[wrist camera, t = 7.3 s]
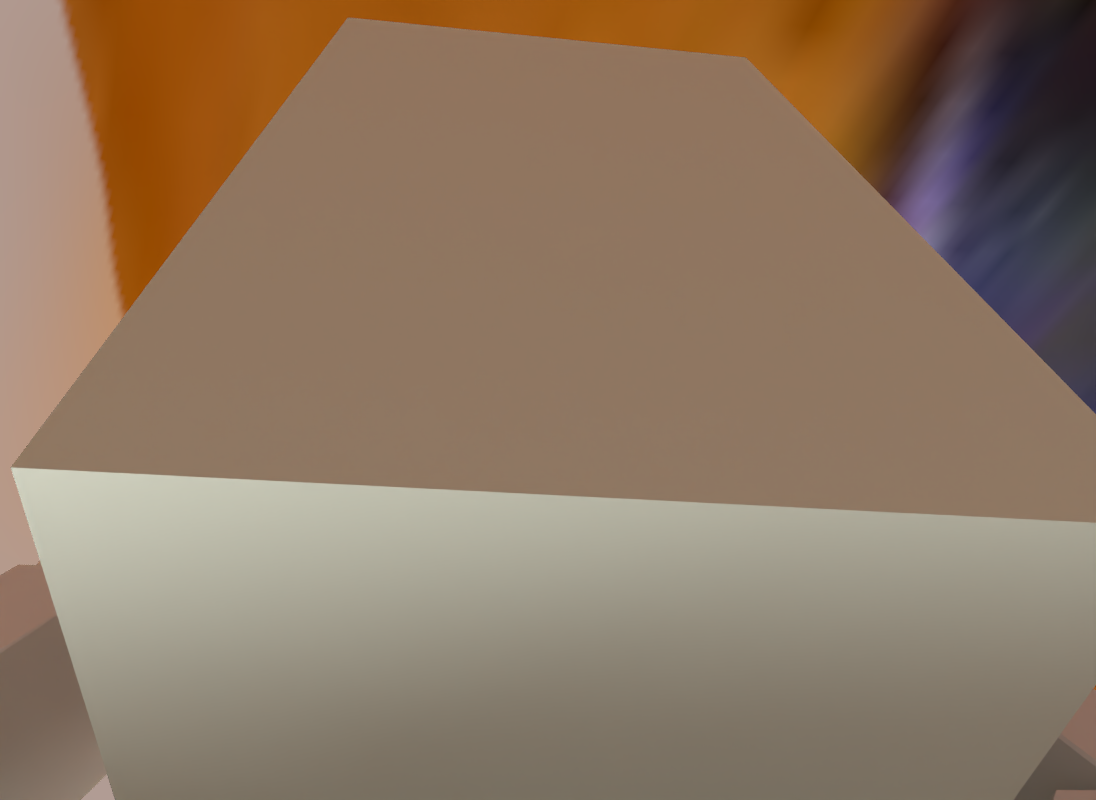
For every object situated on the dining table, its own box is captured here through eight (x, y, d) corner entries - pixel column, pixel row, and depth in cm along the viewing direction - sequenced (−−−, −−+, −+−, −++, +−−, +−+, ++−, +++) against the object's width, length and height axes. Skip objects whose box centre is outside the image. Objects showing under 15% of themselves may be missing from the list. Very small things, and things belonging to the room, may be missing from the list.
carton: (745, 58, 9) (1208, 528, 3) (626, 600, 13) (720, 1210, 7) (322, 15, 8) (-79, 462, 3) (345, 589, 13) (216, 1224, 7)
